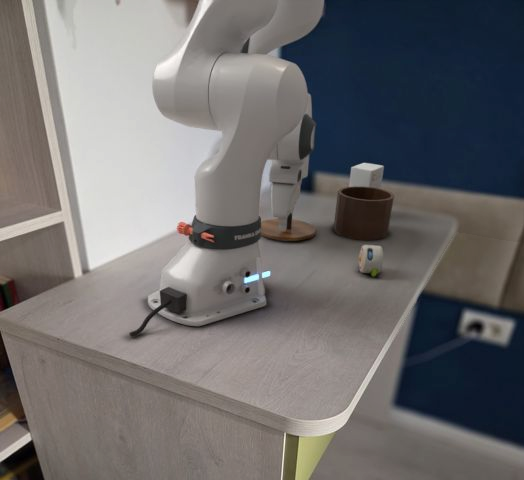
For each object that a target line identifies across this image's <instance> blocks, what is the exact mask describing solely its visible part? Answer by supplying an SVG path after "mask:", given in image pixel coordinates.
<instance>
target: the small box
mask: <svg viewBox="0 0 524 480" xmlns="http://www.w3.org/2000/svg"><path fill="white" fill-rule="evenodd" d="M384 169H385V166H384V165H381V164H376V163H370V162H362V163H359V164H356V165H354V166H351V167H350V173H349V183H348V187H353V186H364V187H373V188H379V189H382V183H383V176H384V171H385V170H384Z"/></svg>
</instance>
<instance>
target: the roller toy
mask: <svg viewBox="0 0 524 480" xmlns="http://www.w3.org/2000/svg"><path fill="white" fill-rule="evenodd" d="M358 256H359V257H358V269H359V271H360V273H362V274H370V275H371V277H376V276H377V274H379V273H380V272H381V270H382V267H383V262H384V251H383V247H382V246H381V245H374V244H363V245H361V248H360V251H359V255H358Z"/></svg>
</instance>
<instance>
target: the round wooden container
mask: <svg viewBox="0 0 524 480" xmlns="http://www.w3.org/2000/svg"><path fill="white" fill-rule="evenodd" d="M394 199H395V194H394V193H393V192H391V191H389V190H386V189H384V188H383V189H382V188H381V189H379V188H373V187H364V186H353V187H349V186H344V187H341V188H339V190H337V195H336V202H335V203H336V205H335V212H334V221H333V230H334V232H335V233H336V234H338V235H340V236H342V237H344V238H347V239H352V240H353V239H354V240H359V241H362V240H363V241H375V240H376V241H377V240H380V239H384V238H385V237H387V235H388V233H389V228H390V224H391V217H392V212H393V206H394Z"/></svg>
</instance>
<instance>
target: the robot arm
mask: <svg viewBox="0 0 524 480" xmlns="http://www.w3.org/2000/svg"><path fill="white" fill-rule="evenodd" d="M324 5H325V0H198V2H197V6H196V9H195V10H194V13H193V16H192V19H191V20H190V22H189V24H188V26H187V28H186V30H185V32H184V33H183V35H182V36H181V38H180V39H179V41H178V42H177V43H176V45H175V46H174V47H173V48H172V49H171V50H170V51H169V52H167V53H166V54H165V55H164V56H163V57H161V58H160V59H159V61H158V62H157V64H156V66H155V69H154V71H153V76H152V81H151V88H152V89H151V91H152V96H153V99H154V102H155V105H156V107H157V109H158V111H159V112H160V114H161V115H162V116H163V117H164V118H166V119H168V120H171V121H173V122H175V123H178V124H180V125H182V126H185V127H189V128H193V129H202V130H209V131H217V132H221V133H222V135H221V136H222V137H221V144H220V147H219V151H218V152H217V153H215V154H213V155H211V156H209V157H208V158H206V159H204V161H202V162H201V163H200V164H199V166H198V167H197V169H196V171H195V174H194V197H195V199H194V201H195V203H194V204H195V215H194V216H193V219H192V222H191V224H189V223H186V222H184V221H180V222H178V223H177V225H176V231H177V232H178V234H180V235H184V236H186V237H187V239H188V240H187V241H186V243H185V244H184V245H183V246H182V247H181V248H180V249H179V251H178V252H177V253H176V254H175V255H174V256H173V257H172V258H171V260H170V261H169V262H168V263H167V264H166V265H165V266H164V267H163V268H162V270H161V274H160V282H159V289H158V290H156V291H154V292H152V293H151V294H148V296H147V304H148V306H149V308H150V309H152V311H151V312H150V313H149V314H148V315H147V316H146V317H145V318H144V320H143V322H142V323H141V325H140V326H139V327H138V328H137V329H136V330H133V331H131V332H129V336H130V337H131V338H132V337H135V336H137V335H139V334H141V333H142V332H144V330H145V329H146V327H147V325H148V324H149V322H150V321H151V319H152V318H153V317H155V315H157V314H158V315H159V316H161V317H164V318H165V319H168V320H170V321H172V322H174V323H178V324H181V325H185V326H191V327H202V326H205V325H208V324H212V323H214V322H218V321H221V320H225V319H227V318H231V317H235V316H237V315H241V314H244V313H247V312H250V311H254V310H257V309H260V308H263V307H266V306H267V298H266V295H265V294H266V288H265V285H264V284H265V283H264V278H267V277H270V276H271V270H268V271H264V272H263V265H262V257H261V251H260V243H259V242H260V240H261V237H262V235H261V230H262V227H261V222H262V218H261V216H260V203H261V190H262V189H261V188H262V180H263V174H264V170H265V167H266V165H267V162H268V160H269V161H270V167H269V168H270V170H269V174H268V182H270V183H271V187H270V195H271V196H270V200H271V201H270V203H271V204H270V205H271V215H272V217H273V218H277V219H278V221H279V231H283V232H285V231H286V229H287V217H288V216H289V214H290V213H292V217H293V214H294V210H295V206H296V203H297V202H298V200H299V198H300V197H301V186H302V182H303V179H305V178H307V177H308V175H309V165H310V164H309V163H310V162H309V161H310V154H311V153H312V152H314V150H315V141H316V140H315V138H316V128H317V122H315V120H314V119H313V107H312V106H313V105H312V95H311V94H310V93H309V92H308V91H309V90H308V86H307V81H306V79H305V76H304V74H303V71H302V70H301V69H300V67H299V66H298V64H296V63H295V62H292V61H290V60H289V61H288V60H286V59H283V58H280V57H278V56H277V57H276V56H273V55H270V54H269V53H271V52H273V51H275V50H276V49H279V48H281V47H283V46H286V45H289V44H291V43H294V42H296V41H299V40H300V39H302V38H303V37H305V36H307V35H309V33H311V32H312V31H313V30H314V29H315V28H316V26H317V25H318V24H319V22H320V20H321V18H322V16H323V11H324Z"/></svg>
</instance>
